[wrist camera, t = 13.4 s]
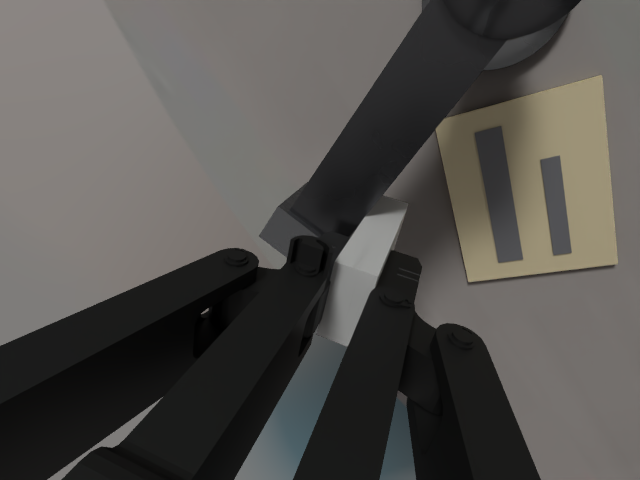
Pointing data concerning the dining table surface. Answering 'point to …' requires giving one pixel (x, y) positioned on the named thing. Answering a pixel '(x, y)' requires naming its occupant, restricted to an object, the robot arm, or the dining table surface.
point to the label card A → (532, 183)
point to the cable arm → (405, 110)
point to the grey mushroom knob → (519, 45)
